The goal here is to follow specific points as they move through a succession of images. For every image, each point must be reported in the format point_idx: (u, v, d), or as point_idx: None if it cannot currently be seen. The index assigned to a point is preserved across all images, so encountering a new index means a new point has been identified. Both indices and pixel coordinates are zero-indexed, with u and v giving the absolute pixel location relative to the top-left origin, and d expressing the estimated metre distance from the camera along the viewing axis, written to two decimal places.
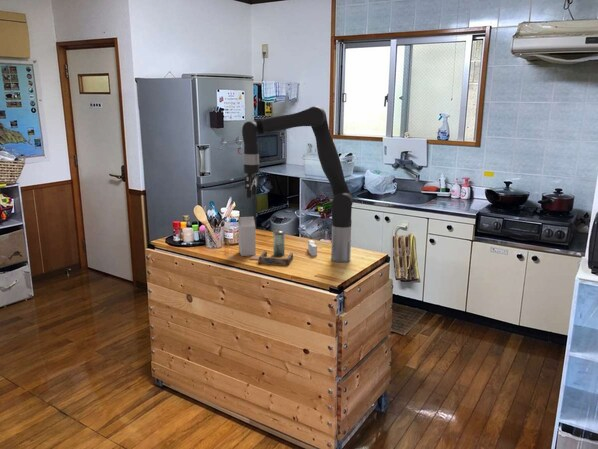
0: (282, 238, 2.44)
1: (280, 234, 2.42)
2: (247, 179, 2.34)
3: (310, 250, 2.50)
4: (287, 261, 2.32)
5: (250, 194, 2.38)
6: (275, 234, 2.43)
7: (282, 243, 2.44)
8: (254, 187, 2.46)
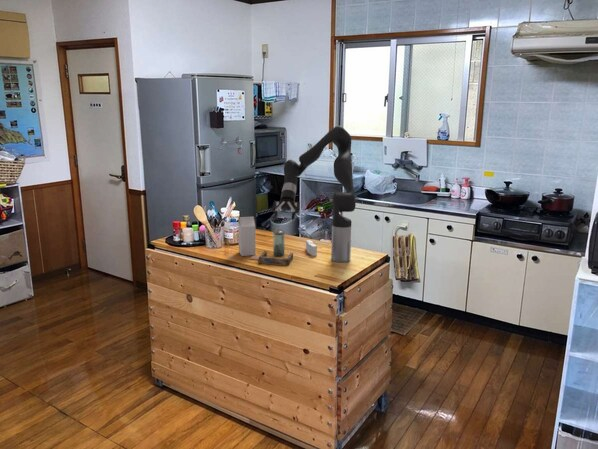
0: (282, 238, 2.44)
1: (280, 234, 2.42)
2: (299, 204, 2.58)
3: (309, 250, 2.50)
4: (287, 261, 2.32)
5: None
6: (275, 234, 2.43)
7: (282, 243, 2.44)
8: (277, 212, 2.58)
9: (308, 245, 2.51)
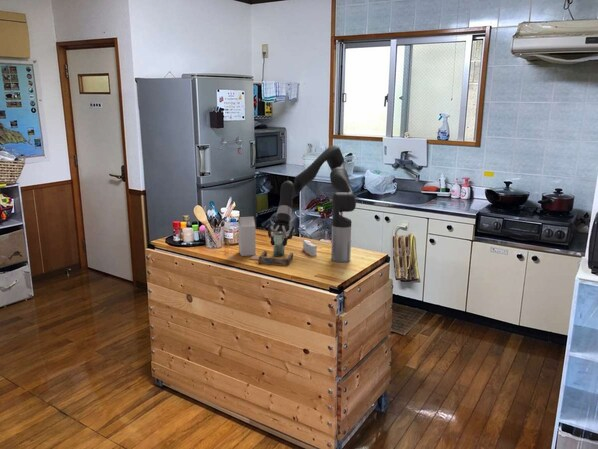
0: (282, 238, 2.44)
1: (280, 234, 2.42)
2: (293, 230, 2.48)
3: (308, 250, 2.50)
4: (287, 261, 2.32)
5: None
6: (275, 234, 2.43)
7: (282, 243, 2.44)
8: None
9: (307, 245, 2.51)
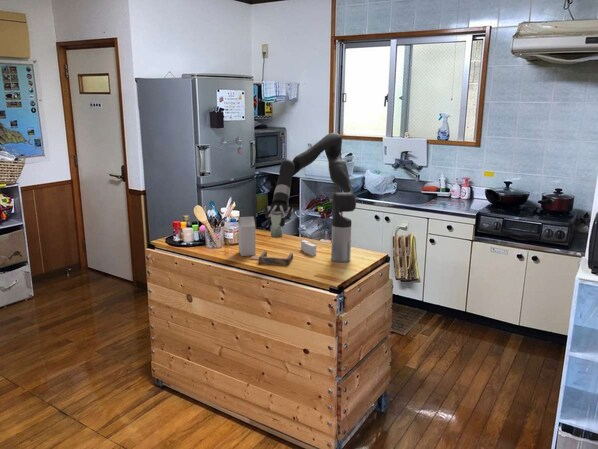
0: (280, 218, 2.31)
1: (277, 214, 2.30)
2: (292, 210, 2.35)
3: (308, 250, 2.50)
4: (287, 261, 2.32)
5: None
6: (272, 214, 2.31)
7: (280, 224, 2.32)
8: None
9: (306, 245, 2.51)
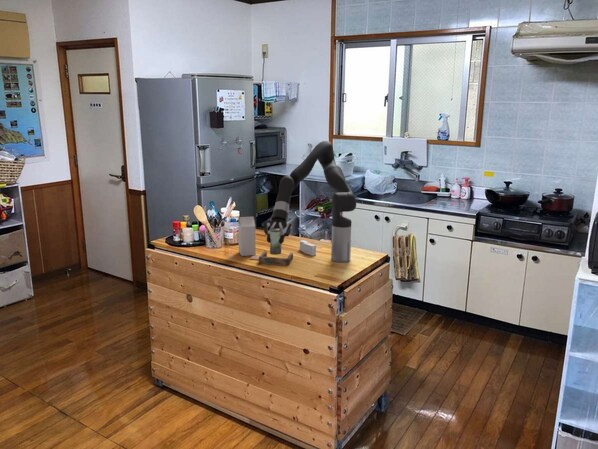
0: (279, 235, 2.34)
1: (277, 231, 2.32)
2: (291, 227, 2.38)
3: (307, 250, 2.50)
4: (287, 261, 2.32)
5: None
6: (271, 231, 2.33)
7: (279, 241, 2.34)
8: None
9: (305, 245, 2.51)
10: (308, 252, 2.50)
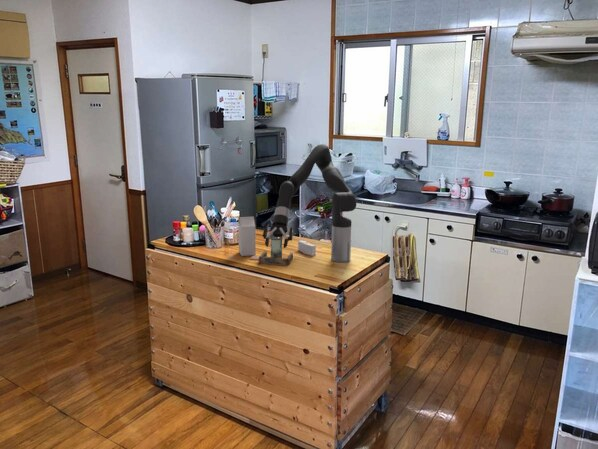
0: (279, 244, 2.34)
1: (277, 239, 2.33)
2: (292, 230, 2.38)
3: (307, 250, 2.50)
4: (287, 261, 2.32)
5: None
6: (272, 239, 2.33)
7: (279, 249, 2.35)
8: None
9: (304, 245, 2.50)
10: (308, 252, 2.50)
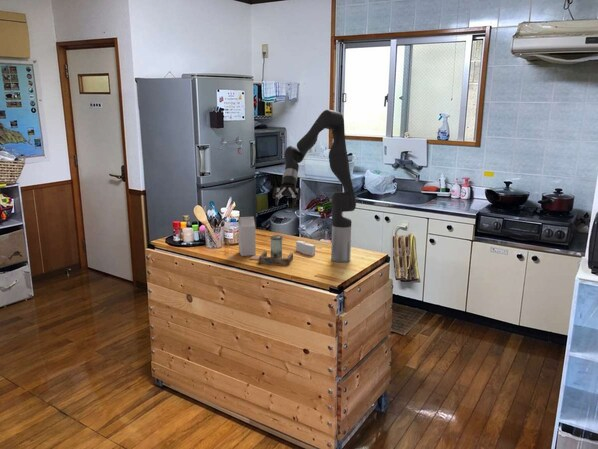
0: (279, 244, 2.34)
1: (277, 239, 2.33)
2: (300, 190, 2.52)
3: (306, 250, 2.50)
4: (287, 261, 2.32)
5: None
6: (272, 239, 2.33)
7: (279, 249, 2.35)
8: (278, 199, 2.51)
9: (304, 246, 2.50)
10: (307, 252, 2.49)
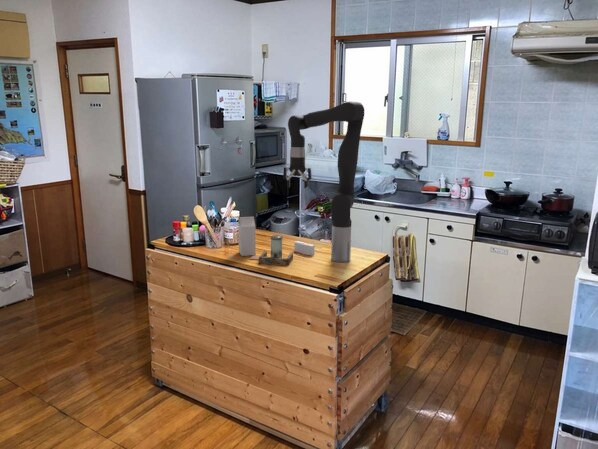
0: (280, 244, 2.34)
1: (277, 239, 2.33)
2: (310, 170, 2.49)
3: (306, 250, 2.49)
4: (287, 261, 2.32)
5: None
6: (272, 239, 2.33)
7: (280, 249, 2.35)
8: (289, 180, 2.52)
9: (303, 246, 2.50)
10: (307, 252, 2.49)
